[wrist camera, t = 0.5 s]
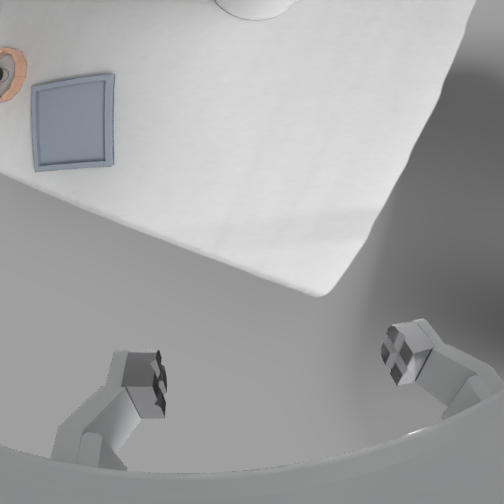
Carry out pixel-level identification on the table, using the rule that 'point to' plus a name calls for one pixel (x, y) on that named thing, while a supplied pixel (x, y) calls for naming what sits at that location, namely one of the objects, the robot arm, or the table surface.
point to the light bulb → (3, 74)
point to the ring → (19, 72)
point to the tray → (73, 123)
